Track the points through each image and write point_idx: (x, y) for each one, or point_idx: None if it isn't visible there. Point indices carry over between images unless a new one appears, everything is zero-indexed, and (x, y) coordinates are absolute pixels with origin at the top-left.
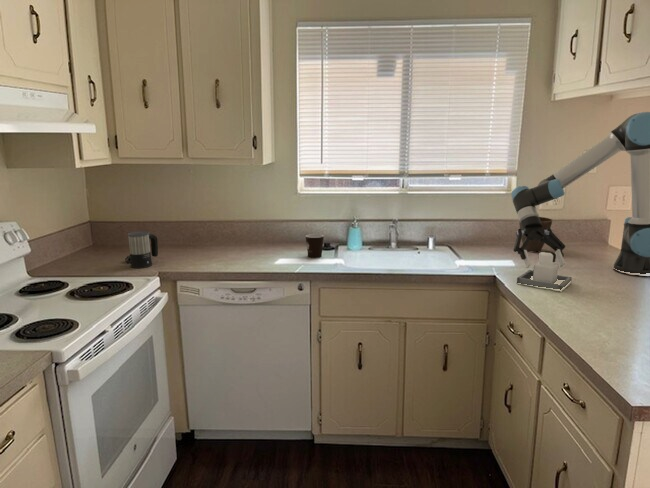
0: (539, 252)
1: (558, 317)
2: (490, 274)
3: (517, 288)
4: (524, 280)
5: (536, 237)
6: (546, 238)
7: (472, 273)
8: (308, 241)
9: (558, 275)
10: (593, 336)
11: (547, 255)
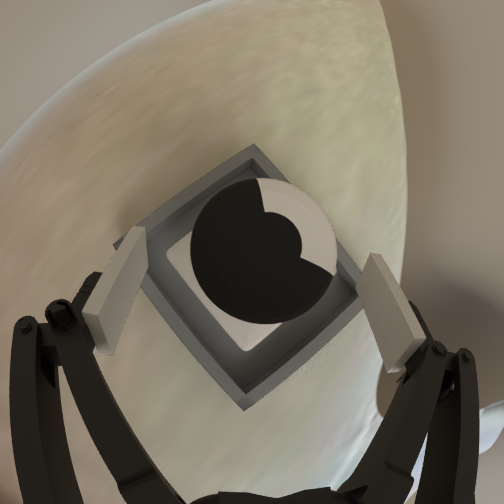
0: (322, 290)
1: (364, 49)
2: None
3: (384, 240)
4: (354, 267)
5: (288, 501)
6: (145, 468)
7: None
8: None
9: (152, 288)
10: (341, 4)
11: (303, 192)
